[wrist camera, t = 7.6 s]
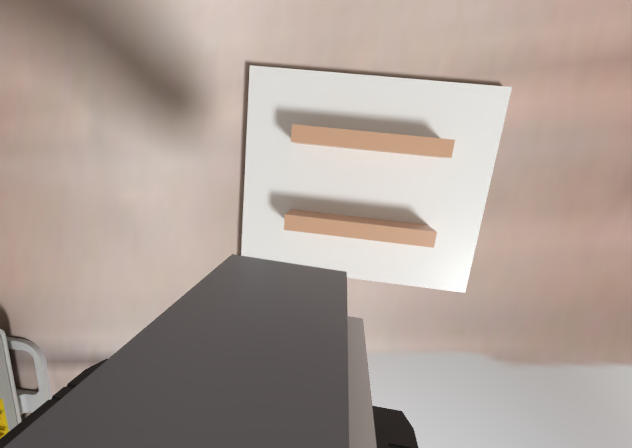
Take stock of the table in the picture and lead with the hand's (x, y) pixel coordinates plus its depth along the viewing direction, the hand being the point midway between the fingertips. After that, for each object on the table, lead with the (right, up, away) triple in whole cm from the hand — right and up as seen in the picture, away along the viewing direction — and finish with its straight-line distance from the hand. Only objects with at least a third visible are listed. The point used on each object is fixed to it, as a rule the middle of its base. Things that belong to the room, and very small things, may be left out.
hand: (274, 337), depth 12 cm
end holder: (+6, +8, +19) cm, 22 cm away
